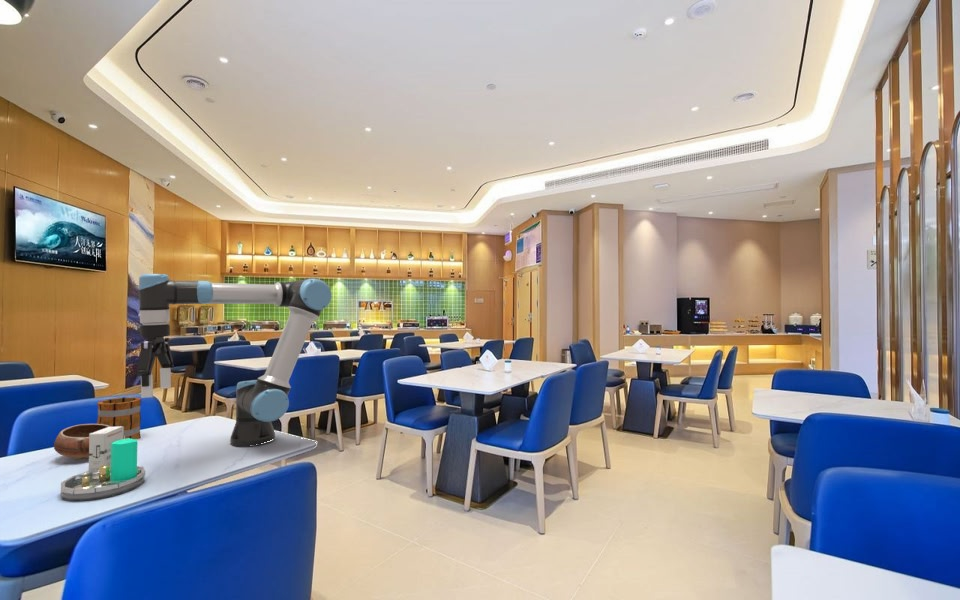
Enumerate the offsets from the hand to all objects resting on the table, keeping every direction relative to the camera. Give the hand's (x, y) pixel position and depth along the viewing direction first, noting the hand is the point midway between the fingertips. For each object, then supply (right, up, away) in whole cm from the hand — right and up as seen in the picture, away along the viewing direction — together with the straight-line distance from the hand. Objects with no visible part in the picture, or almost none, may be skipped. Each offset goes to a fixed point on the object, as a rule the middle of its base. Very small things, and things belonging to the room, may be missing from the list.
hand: (156, 392), depth 140 cm
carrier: (-5, -24, -13) cm, 28 cm away
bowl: (-33, -24, +12) cm, 43 cm away
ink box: (-18, -24, +3) cm, 31 cm away
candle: (-1, -22, -12) cm, 25 cm away
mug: (-38, -25, +34) cm, 56 cm away
